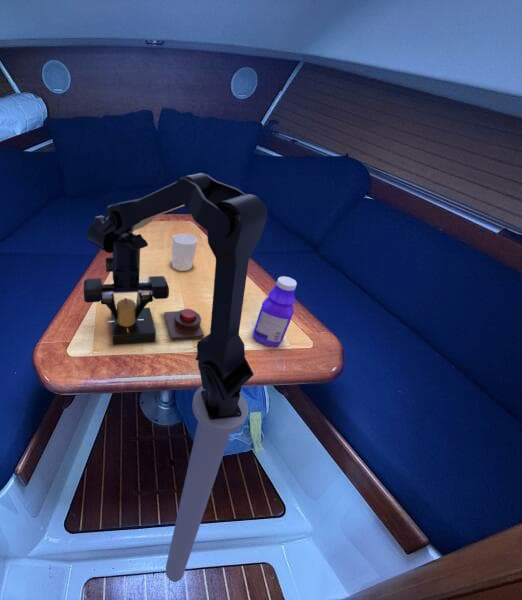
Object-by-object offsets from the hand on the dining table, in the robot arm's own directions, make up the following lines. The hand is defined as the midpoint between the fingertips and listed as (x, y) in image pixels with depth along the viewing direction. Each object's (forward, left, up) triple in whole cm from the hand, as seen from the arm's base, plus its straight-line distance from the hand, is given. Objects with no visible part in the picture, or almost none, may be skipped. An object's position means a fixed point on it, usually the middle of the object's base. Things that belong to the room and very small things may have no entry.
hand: (126, 317), depth 77 cm
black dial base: (0, -1, -4) cm, 4 cm away
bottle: (-7, -34, -4) cm, 35 cm away
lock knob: (0, 0, -1) cm, 1 cm away
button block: (0, -14, -4) cm, 15 cm away
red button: (0, -15, -1) cm, 16 cm away
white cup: (+31, -21, -4) cm, 38 cm away
